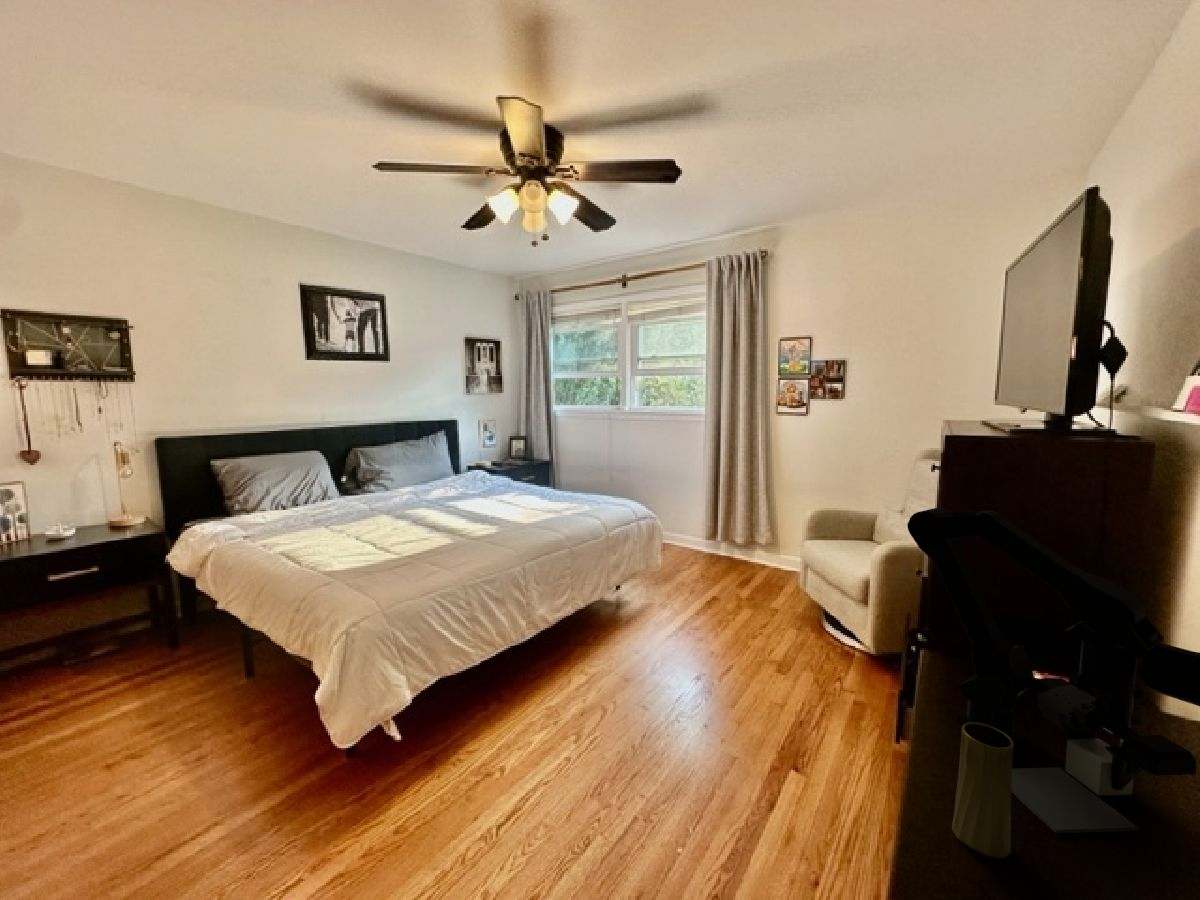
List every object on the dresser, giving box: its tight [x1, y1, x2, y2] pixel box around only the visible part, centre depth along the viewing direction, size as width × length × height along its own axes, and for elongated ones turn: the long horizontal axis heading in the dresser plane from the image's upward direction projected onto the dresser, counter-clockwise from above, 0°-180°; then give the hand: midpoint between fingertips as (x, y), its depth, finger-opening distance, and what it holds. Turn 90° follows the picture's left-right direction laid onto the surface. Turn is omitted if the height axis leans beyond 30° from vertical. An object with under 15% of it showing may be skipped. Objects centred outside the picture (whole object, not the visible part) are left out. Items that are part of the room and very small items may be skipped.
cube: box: [1064, 738, 1134, 797], centre depth 74 cm, size 5×5×5 cm
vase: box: [951, 722, 1015, 858], centre depth 64 cm, size 6×6×14 cm
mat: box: [1011, 766, 1139, 834], centre depth 71 cm, size 11×11×1 cm
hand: (1097, 775), depth 74 cm, fingers closed on cube, 5 cm apart
